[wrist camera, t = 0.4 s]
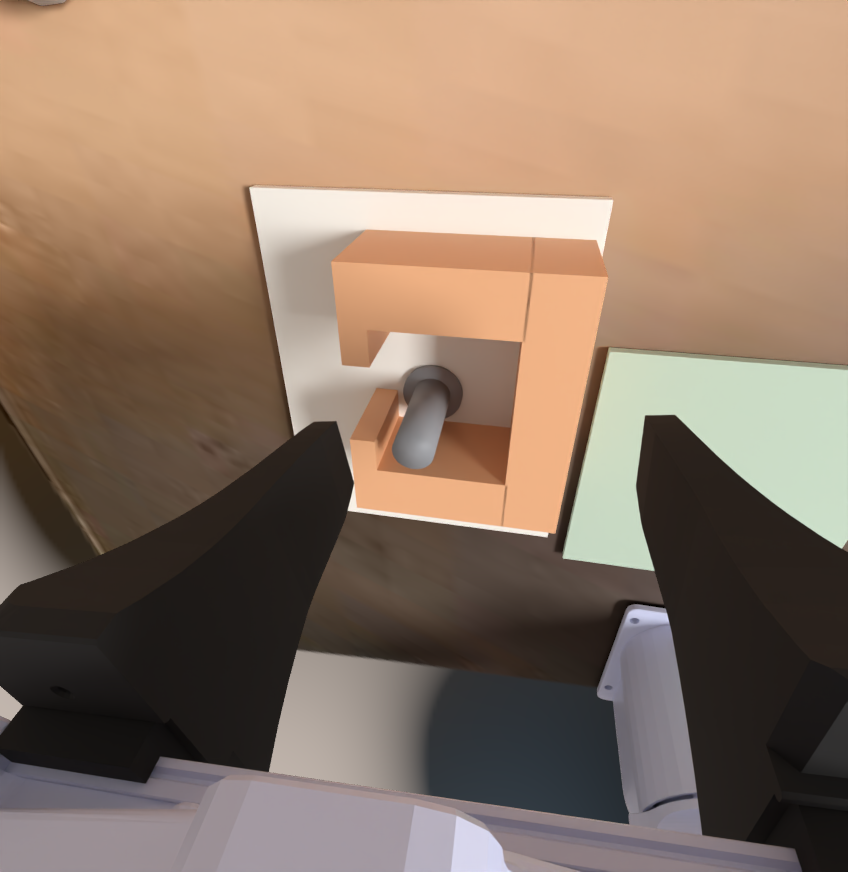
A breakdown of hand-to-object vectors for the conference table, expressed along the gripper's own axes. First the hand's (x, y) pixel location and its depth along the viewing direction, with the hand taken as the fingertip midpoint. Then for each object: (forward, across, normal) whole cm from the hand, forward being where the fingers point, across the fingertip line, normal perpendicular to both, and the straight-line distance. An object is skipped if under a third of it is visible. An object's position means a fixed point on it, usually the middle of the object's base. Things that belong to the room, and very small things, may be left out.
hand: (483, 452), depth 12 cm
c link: (+9, +1, +3) cm, 10 cm away
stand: (+10, +3, +4) cm, 11 cm away
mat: (+10, -9, +9) cm, 16 cm away
